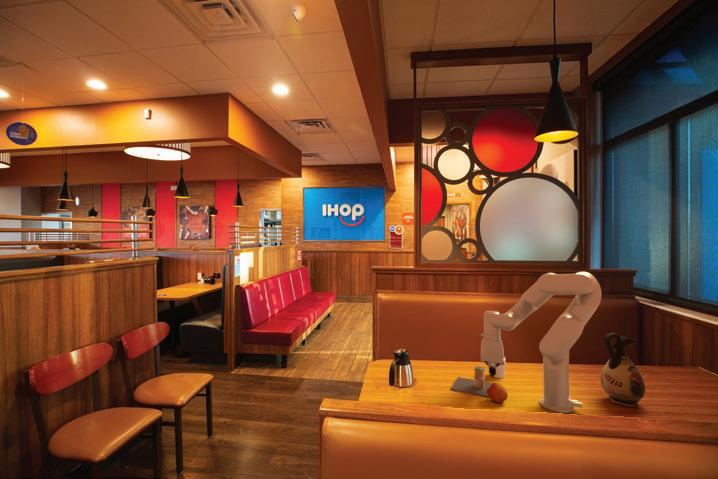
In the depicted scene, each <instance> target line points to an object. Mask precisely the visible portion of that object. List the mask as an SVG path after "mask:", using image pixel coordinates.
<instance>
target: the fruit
mask: <svg viewBox="0 0 718 479" xmlns="http://www.w3.org/2000/svg"><path fill="white" fill-rule="evenodd" d="M487 395H488V396H489V399H490V400H492V401H493V402H496V403H499V404H500V403H501V404H502V403H505V401H507V399H508V391H507V389H506V388H505V387H504V386H503V385H502V384H501V383H499V382H498V383H497V382H493V384H492V385H491V386H490V388H488V389H487Z"/></svg>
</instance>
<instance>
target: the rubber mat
mask: <svg viewBox="0 0 718 479" xmlns="http://www.w3.org/2000/svg"><path fill="white" fill-rule="evenodd" d="M493 383H494V382H493ZM493 383H492V382H487V381H485V387H484V389H481V388H476V387H475V379H470V378H467V377H460V376H457V378H456V379H455V381H454V382H453V384H452V385H451V387H450V390H451V391H454V392H459V393H464V394H469V395H474V396H479V397H485V398H489V396H488V395H487V389H488V388H490V386H491V385H492V384H493ZM489 399H490V398H489Z"/></svg>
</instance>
